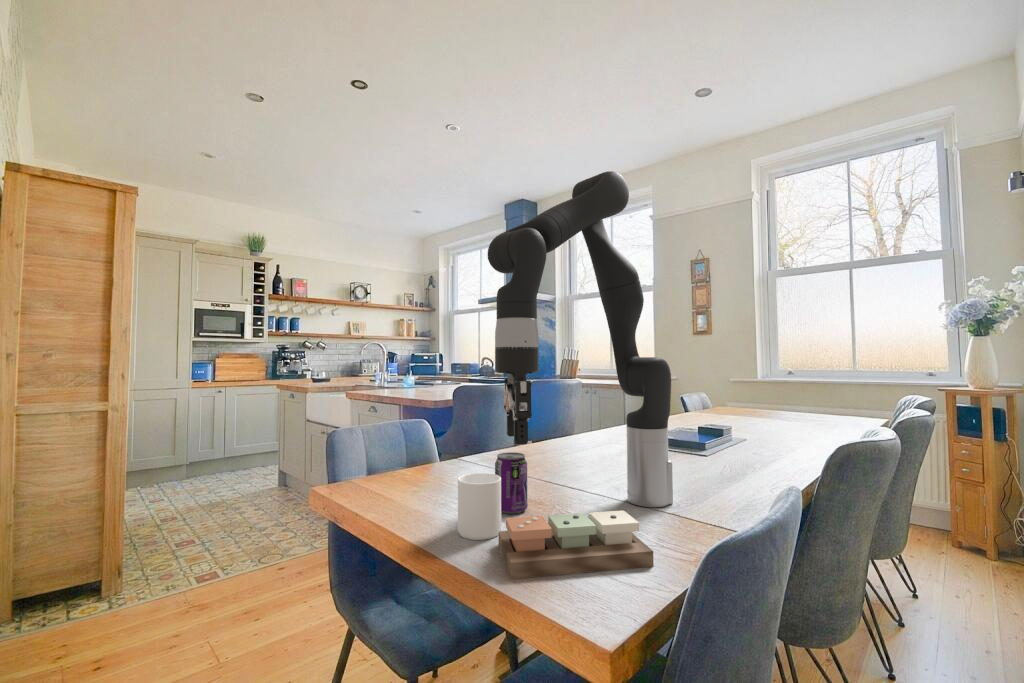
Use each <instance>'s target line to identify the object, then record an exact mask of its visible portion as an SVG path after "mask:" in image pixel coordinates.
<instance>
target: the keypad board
mask: <svg viewBox="0 0 1024 683" xmlns="http://www.w3.org/2000/svg"><path fill="white" fill-rule="evenodd" d="M551 534H552V538H545V550H536V551H523V552H516V551H515V548H514V546H513V544H512V539H511V537H510V534H509V532H508V530H503V531H502V530H501V531H499V534H498V547H499V550H500V553H501V555H502V558H503V561H504V564H505V567H506V569H507V572H508V576H509V578H510V579H511V580H513V579H525V578H537V577H550V576H559V575H560V576H561V575H569V574H570V575H572V574H583V573H593V572H594V573H595V572H605V571H606V572H607V571H616V570H619V571H620V570H630V569H641V568H651V567H654V566H655V565H654V550H653V549H652V548H650V547H649V546H648V545H647V544H646V543H644V542H643V541H642V539H640V538H639V537H638V536H636V534H634V532H632V543H626V544H613V545H604V544H603V543H602V542H601V541H600V540H599V539H598V538H597V537H596V534H594V535H589V546H587V547H574V548H560V546H559V545H558V543H557V542H556V541H555V532H554V531H553V529H552V528H551Z"/></svg>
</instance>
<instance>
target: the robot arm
mask: <svg viewBox="0 0 1024 683" xmlns="http://www.w3.org/2000/svg"><path fill="white" fill-rule="evenodd" d="M629 198H630V191H629V187H628V183H627V182H626V180H625V178H624V177H623V175H621V174H620V173H618V172H617V171H613V170H611V171H610V170H609V171H604V172H601V173H598V174H596V175H594V176H593V175H592V177H589V178H586V179H584V180H581V181H578V182H577V183H576V184H575V185H574V186H573V189H572V192H571V198H570V199H568V200H566V201H562V202H560V203H558V204H555V205H554V206H552V207H550V208H548V209H546V210H544V211H542V212H541V213H539V214H538V215H536V216H535V217H533V218H532V219H530V220H528V221H527V222H525V223H522V224H519V225H517V226H515V227H512V228H511V229H508V230H505V231H504V232H501V233H499V234H497V235H496V236H495V237H494V238H493V239H492V241H491V242H490V244H489V245H488V249H487V260H488V263H489V264H490V266H491V267H492V269H493V270H495V271H496V272H497V273H501V274H505V275H506V274H512V276H511V279H510V280H509V282H507V283H506V284H504V285H502V286H501V287H499V288H498V290H497V292H496V320H495V329H494V330H495V331H494V371H495V372H496V373H497V374H507V377H504V380H503V383H504V384H503V392H504V398H503V402H504V405H503V408H504V413H505V415H506V435H507V436H508V437H513V442H514V444H515V445H518V446H519V445H527V444H528V443H529V421H530V419H532V416H533V413H532V381H531V380H527V375H528V374H537V373H538V372H539V327H538V320H537V319H538V315H537V314H538V305H537V304H538V302H537V301H538V300H537V299H538V293H539V289H540V286H541V282H542V278H543V274H544V270H545V265H546V261H547V254H548V253H550V252H553V251H555V250H556V249H557V248H559V247H560V246H562V245H563V244H565V243H566V242H567V241H569V240H571V238H573V237H575V236H576V235H577V234H578V233H580V232H581V234H582V236H583V239H584V242H585V244H586V247H587V251H588V253H589V254H588V255H589V257H590V260H591V264H592V268H593V271H594V275H595V280H596V283H597V288H598V292H599V296H600V299H601V300H600V301H601V304H602V307H603V311H604V313H605V317H606V321H607V326H608V330H609V334H610V338H611V339H610V340H611V345H612V349H613V350H612V351H613V357H614V364H615V369H616V374H617V375H616V376H617V379H618V383H619V386H620V388H621V390H622V391H623V393H625V394H626V395H629V396H632V397H642V398H643V400H642V401H643V402H642V405H641V407H640V408H638V409H637V410H634V411H631V412H630V411H629V412H628V414H626V419H625V420H626V469H627V470H626V471H627V472H626V474H627V475H626V476H627V478H626V479H627V485H626V487H627V490H626V493H627V502H629V503H630V504H632V505H636V506H639V507H645V508H646V507H647V508H661V507H662V508H663V507H666V506H668V505H673V504H674V491H673V490H674V486H673V484H674V483H673V481H674V480H673V462H672V461H671V460H670V459H669V419H670V418H669V417H670V414H671V399H672V395H671V394H672V373H671V369H670V365H669V364H668V362H667V361H666V360H665V359H664V358H662V357H653V356H651V357H650V356H648V357H647V356H641V357H640V355H639V352H638V346H637V341H636V333H637V332H636V331H637V328H638V324H639V322H640V318H641V315H642V311H643V308H644V302H645V300H644V298H645V297H644V294H643V290H642V284H641V281H640V277H639V273H638V270H637V269H636V268H635V265H633V264H632V262H630V260H629V259H628V258H627V257H626V256H625V255H624V254H623V253H622V252H621V251H620V250H619V249H618V248H617V247H616V246H615V245H614V243H613V242H612V241H611V239H610V237H609V235H608V232H607V230H606V227H605V224H604V221H603V220H604V219H606V218H607V219H608V218H610V217H614V216H617V214H620V213H621V212H622V211H623V210H624V209H625V208H626V207H627V205H628V202H629Z"/></svg>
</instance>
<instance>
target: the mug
mask: <svg viewBox="0 0 1024 683" xmlns="http://www.w3.org/2000/svg"><path fill="white" fill-rule="evenodd" d="M457 531H458V534H459V536H461V537H462V538H464V539H466V540H470V541H485V540H486V541H487V540H490V539H493V538H495V537H498V536H499V531H502V512H501V477H500V476H498V475H495V473H486V472H479V473H475V472H474V473H469V474H468V473H467V474H463V475H460V476H459V477H458V478H457Z"/></svg>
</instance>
